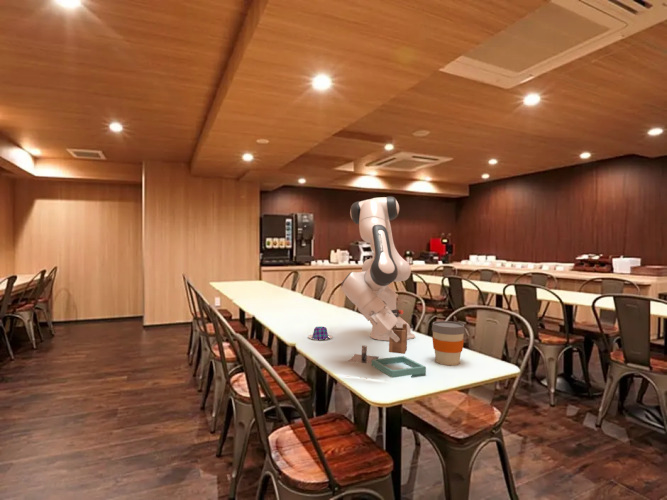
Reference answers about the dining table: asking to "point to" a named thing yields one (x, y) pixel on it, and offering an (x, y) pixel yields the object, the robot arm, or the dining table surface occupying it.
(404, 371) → the tray
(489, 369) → the dining table surface
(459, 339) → the reusable coffee cup
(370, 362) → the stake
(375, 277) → the robot arm
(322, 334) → the purple plaid hat
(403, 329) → the brown wooden holder
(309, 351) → the dining table surface
